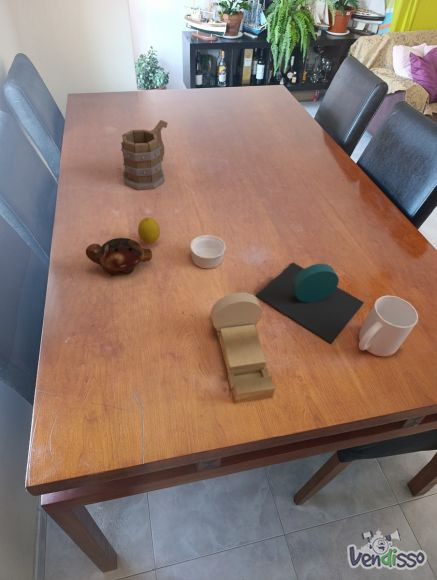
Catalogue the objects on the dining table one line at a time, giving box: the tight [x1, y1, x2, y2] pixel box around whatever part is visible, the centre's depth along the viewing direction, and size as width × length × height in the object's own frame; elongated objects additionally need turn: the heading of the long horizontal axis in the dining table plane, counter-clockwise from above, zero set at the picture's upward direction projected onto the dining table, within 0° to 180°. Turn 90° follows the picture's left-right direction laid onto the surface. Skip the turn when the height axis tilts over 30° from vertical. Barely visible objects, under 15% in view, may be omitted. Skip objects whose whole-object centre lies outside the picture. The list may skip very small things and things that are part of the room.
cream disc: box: [210, 292, 263, 331], centre depth 74 cm, size 2×10×10 cm, turn 101°
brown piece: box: [85, 237, 153, 277], centre depth 89 cm, size 10×15×8 cm, turn 111°
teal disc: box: [292, 263, 340, 302], centre depth 84 cm, size 2×10×10 cm, turn 101°
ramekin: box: [189, 234, 227, 269], centre depth 94 cm, size 9×9×4 cm
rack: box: [215, 324, 276, 405], centre depth 74 cm, size 20×7×5 cm, turn 11°
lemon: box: [137, 217, 161, 245], centre depth 96 cm, size 6×6×8 cm
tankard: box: [120, 119, 168, 191], centre depth 117 cm, size 20×13×15 cm, turn 148°
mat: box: [255, 262, 365, 345], centre depth 88 cm, size 20×16×1 cm
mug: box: [358, 295, 419, 357], centre depth 76 cm, size 12×8×10 cm
